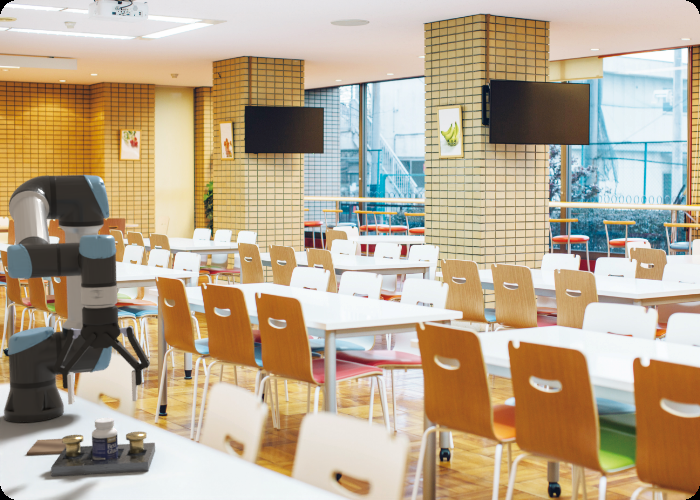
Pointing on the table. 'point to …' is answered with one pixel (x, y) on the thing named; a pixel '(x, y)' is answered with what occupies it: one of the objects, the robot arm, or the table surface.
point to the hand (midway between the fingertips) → (103, 401)
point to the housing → (103, 462)
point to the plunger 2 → (136, 441)
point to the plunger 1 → (72, 445)
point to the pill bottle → (104, 440)
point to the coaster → (47, 447)
